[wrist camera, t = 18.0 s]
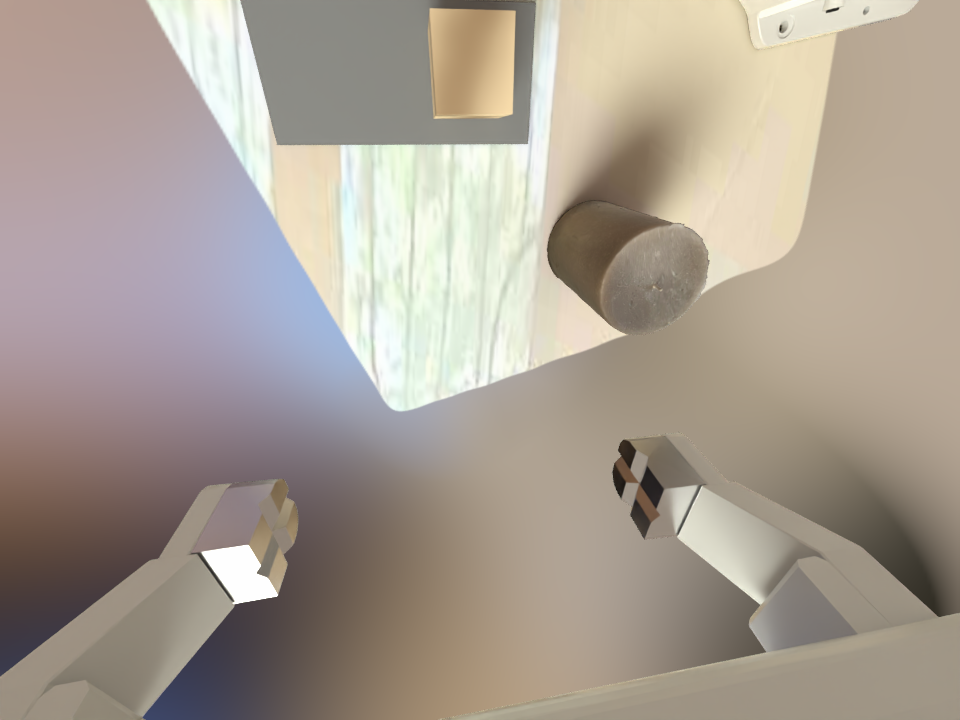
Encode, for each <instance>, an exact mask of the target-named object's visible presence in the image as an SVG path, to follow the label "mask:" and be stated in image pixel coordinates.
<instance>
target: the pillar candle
mask: <svg viewBox="0 0 960 720" xmlns="http://www.w3.org/2000/svg"><path fill="white" fill-rule="evenodd" d="M547 252H548V255H547V256H548V261H549V265H550V267H551V269H552V271H553V273H554V274H555V275H556V277H557V278H560V279H561V280H562V281H563V282H564V283H565V284H566V285H567V286H568V287H569V288H571V289H572V290H573V291H574V292H575V293H576V294H577V295H578V296H579V297H580V298H581V299H582V300H583V301H584V302H586V303H587V304H588V305H589V306H590V307H591V308H592V309H593V310H594V311H595V312H596V313H597V314H599V315H600V316H601V317H602V318H603V319H604V320H605V321H606V322H607V323H608V324H610V325H611V326H612V327H613V328H615V329H617V330H619V331H620V332H622V333H625V334H629V335H646V334H650V333H654V332H657V331H660V330H662V329H664V328H666V327H667V326H669V325H670V324H672V323H674V322H675V321H677V319H679V318H680V317H682V315H684V314H685V313H686V312H687V311H688V309H689V308H690V307H691V306H692V305H693V304H694V302H695V301H696V300H697V299H699V297H700V295H701V291H702V290H703V289H704V287H705V284H706V279H707V270H708V265H709V260H708V250H707V249H706V247H705V244H704V243H703V239H702V238H701V237H700V236H699V235H698V234H697V233H695V231H693V230H692V229H690V228H688V227H685V226H684V224H681V223H672V222H668V221H665V220H661V219H658V218H657V217H653V216H650V215H647V214H643V213H640V212H637V211H634V210H631V209H627V208H623V207H620V206H617V205H614V204H612V203H608V202H604V201H588V202H584V203H581V204H579V205H577V206H575V207H573V208H571V209H570V210H569V211H568V212H567V213H565V214H564V215H563V216H562V217H561V219H560V220H559V221H558V222H557V224H556V225H555V227H554V228H553V230H552V232H551V234H550V237H549V241H548V248H547Z"/></svg>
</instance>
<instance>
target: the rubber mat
mask: <svg viewBox="0 0 960 720" xmlns="http://www.w3.org/2000/svg"><path fill="white" fill-rule="evenodd" d="M241 4H242V8H243V12H244V16H245V20H246V24H247V28H248V32H249V36H250V40H251V44H252V47H253V51H254V55H255V59H256V63H257V67H258V71H259V75H260V79H261V83H262V87H263V91H264V94H265V98H266V102H267V106H268V110H269V114H270V118H271V122H272V126H273V130H274V134H275V138H276V141H277V145H395V144H528V128H529V110H530V93H531V75H532V58H533V40H534V22H535V5H536V3H528V2H506V1H484V0H241ZM430 8H439V9H474V10H509V11H516V13H515V48H514V83H513V114H511V115H508V116H505V117H501V118H478V119H434V117H433V102H432V87H431V72H430V57H429V42H428V23H429V11H430Z"/></svg>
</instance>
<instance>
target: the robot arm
mask: <svg viewBox="0 0 960 720" xmlns="http://www.w3.org/2000/svg"><path fill="white" fill-rule="evenodd" d="M739 1H740V3H741V4H742V6H743V7H744V9H745V11H746V14H747V17H748V25H749V32H750V37H751V41H752V44H753V46H754V47H755V48H756V49H766V48H770V47H775V46H779V45H783V44H787V43H792V42H796V41H800V40H805V39H809V38H813V37H817V36H822V35H826V34H830V33H834V32H839V31H843V30H847V29H852V28H856V27H860V26H864V25H869V24H873V23H877V22H881V21H885V20H889V19H892V18H895V17H898V16H901V15H903V14H906V13H907V12H908V11H910V10H911V9H912V8H913V7H914V5H915V4H916V3H917V2H918V1H919V0H739ZM780 25H782V28H781V31H780V32H779V27H780ZM618 452H619V453H620V455H621V457H620V458H619V459H618V460H617V461H616V462H615V463H614V466H613V471H612V474H613V482H614V486H615V488H616V491H617V493H618V495H619V496H620V498H621V500H623V501H624V502H625V503H627V504H628V505H630V506H631V513H630V516H631V517H632V519H633V521H634V523H635V525H636V526H637V528H638V530H639V531H640V533H641V535H642V537H643V538H644V540H647V539H655V538H663V537H671V536H678V537H677V538H678V539H680V540H681V541H682V542H683V543H685V544H686V545H687V546H688V547H690V548H691V549H692V550H693V551H695V552H696V553H697V554H698V555H699V556H701V557H702V558H703V559H704V560H706V561H707V562H708V563H710V564H711V565H712V566H713V567H714V568H716V569H717V570H718V571H720V572H721V573H722V574H723V575H724V576H726V577H727V578H728V579H729V580H731V581H732V582H733V583H734V584H736V585H737V586H738V587H739V588H741V589H742V590H743V591H744V592H746V593H747V594H748V595H749V596H751V597H752V598H753V599H754V600H755V601H757V602H758V603H759V604H760V605H761V606H760V607H759V608H758V609H757V610H756V612H755V613H754V614H753V615H752V617H751V618H750V622H749V627H750V628H751V630H752V631H753V633H754V634H755V635H756V637H757V639H758V640H759V641H760V643H761V644H762V646H763V647H764V649H765V650H766V652H767V653H762V654H757V655H752V656H747V657H742V658H738V659H733V660H728V661H724V662H718V663H713V664H708V665H703V666H699V667H694V668H689V669H684V670H679V671H674V672H669V673H664V674H659V675H655V676H650V677H645V678H640V679H635V680H631V681H625V682H620V683H615V684H611V685H606V686H601V687H596V688H591V689H586V690H581V691H576V692H571V693H567V694H562V695H557V696H552V697H547V698H542V699H537V700H532V701H528V702H523V703H518V704H513V705H508V706H503V707H498V708H493V709H488V710H484V711H479V712H474V713H469V714H464V715H459V716H454V717H449V718H445V719H440V720H960V613H958V614H953V615H948V616H943V617H938V616H936V615H935V614H934V613H933V612H932V611H931V610H930V609H929V608H928V607H927V606H925V605H924V604H923V603H922V602H921V601H920V600H919V599H918V598H917V597H916V596H914V595H913V594H912V593H911V592H910V591H909V590H908V589H907V588H906V587H905V586H904V585H902V584H901V583H900V582H899V581H898V580H897V579H896V578H895V577H894V576H892V575H891V574H890V573H889V572H888V571H887V570H886V569H885V568H884V567H883V566H882V565H881V564H879V563H878V562H877V561H876V560H875V559H874V558H873V557H872V556H871V555H870V554H868V553H867V552H866V551H865V550H864V549H863V548H862V547H860V546H858V545H856V544H855V543H852V542H851V541H849V540H847V539H845V538H843V537H841V536H839V535H837V534H835V533H833V532H831V531H829V530H827V529H826V528H824V527H821V526H820V525H818V524H816V523H814V522H812V521H810V520H808V519H806V518H804V517H802V516H800V515H798V514H796V513H794V512H793V511H791V510H789V509H786V508H785V507H783V506H781V505H779V504H777V503H775V502H773V501H771V500H769V499H767V498H765V497H763V496H762V495H760V494H758V493H756V492H754V491H752V490H750V489H748V488H746V487H744V486H742V485H740V484H738V483H736V482H734V481H733V482H728V481H727V480H726V479H725V478H724V477H723V476H722V475H721V473H720V472H719V471H718V470H717V469H716V468H715V467H714V466H713V465H712V464H711V463H710V462H709V460H708V459H707V458H706V457H705V456H704V455H703V454H702V453H701V452H700V451H699V450H698V449H697V447H696V446H694V444H693V443H692V442H691V441H690V440H689V439H688V438H687V437H686V436H685V435H683V434H682V433H671V434H662V435H654V436H645V437H637V438H629V439H624V440H622V441H621V443H620V445H619V448H618ZM288 490H289V489H288V486H287V484H286V482H285V480H284V479H273V480H262V481H251V482H239V483H232V484H222V485H211V486H207V487H206V488H205V489H203V490H202V491H201V492H200V493H199V495H198V496H197V498H196V500H195V501H194V503H193V505H192V506H191V508H190V509H189V511H188V512H187V514H186V516H185V517H184V519H183V521H182V522H181V524H180V525H179V527H178V529H177V530H176V532H175V533H174V535H173V537H172V538H171V539H170V541H169V543H168V544H167V546H166V547H165V549H164V551H163V552H162V554H161V556H160V557H159V559H155V560H150V561H148V562H147V563H146V564H144V565H143V566H142V567H141V568H139V569H138V570H137V571H136V572H134V573H133V574H132V575H130V576H129V577H128V578H127V579H125V580H124V581H123V582H121V583H120V584H119V585H118V586H116V587H115V588H114V589H113V590H111V591H110V592H109V593H107V594H106V595H105V596H104V597H102V598H101V599H100V600H98V601H97V602H96V603H94V604H93V605H92V606H91V607H89V608H88V609H87V610H85V611H84V612H83V613H82V614H80V615H79V616H78V617H77V618H75V619H74V620H73V621H71V622H70V623H69V624H68V625H66V626H65V627H64V628H62V629H61V630H60V631H58V632H57V633H56V634H55V635H53V636H52V637H51V638H49V639H48V640H47V641H46V642H44V643H43V644H42V645H41V646H39V647H38V648H37V649H35V650H34V651H33V652H32V653H30V654H29V655H28V656H27V657H25V658H24V659H23V660H21V661H20V662H19V663H17V664H16V665H15V666H14V667H12V668H11V669H10V670H8V671H7V672H6V673H5V674H3V675H2V676H1V677H0V720H145V719H143V718H142V717H143V715H144V714H145V713H146V712H147V710H148V709H149V708H150V707H151V706H152V705H153V703H154V702H155V701H156V700H157V699H158V697H159V696H160V695H161V694H162V693H163V691H164V690H165V689H166V688H167V686H168V685H169V684H170V683H171V682H172V681H173V679H174V678H175V677H176V676H177V675H178V673H179V672H180V671H181V670H182V669H183V667H184V666H185V665H186V664H187V663H188V661H189V660H190V659H191V658H192V656H193V655H194V654H195V653H196V652H197V651H198V649H199V648H200V647H201V646H202V645H203V643H204V642H205V641H206V640H207V639H208V637H209V636H210V635H211V634H212V632H213V631H214V630H215V629H216V628H217V626H218V625H219V624H220V623H221V622H222V621H223V619H224V618H225V617H226V616H227V614H228V613H229V612H230V611H231V610H232V608H233V607H234V604H235V603H240V602H245V601H251V600H257V599H262V598H268V597H273V596H278V593H279V590H280V586H281V584H282V580H283V577H284V574H285V571H286V568H287V562H286V560H285V558H284V556H283V555H284V554H285V553H286V552H287V551H288V550H289V549H290V548H291V546H292V545H293V544H294V541H295V538H296V534H297V529H298V512H297V508H296V505H295V503H294V502H293V501H292V500H290V499H288V498H286V495H287V493H288Z"/></svg>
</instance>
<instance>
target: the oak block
mask: <svg viewBox="0 0 960 720" xmlns="http://www.w3.org/2000/svg"><path fill="white" fill-rule="evenodd" d="M515 13H516V11H509V10H474V9H439V8H430V11H429V23H428V42H429V57H430V72H431V87H432V102H433V117H434V119H478V118H501V117H505V116H508V115H511V114H513V83H514V48H515Z"/></svg>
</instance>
